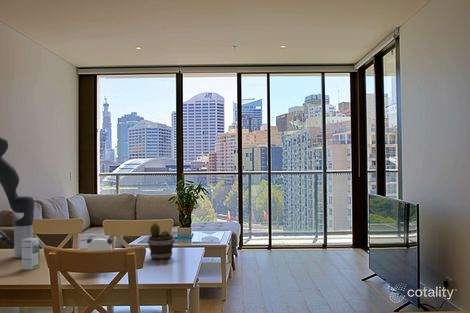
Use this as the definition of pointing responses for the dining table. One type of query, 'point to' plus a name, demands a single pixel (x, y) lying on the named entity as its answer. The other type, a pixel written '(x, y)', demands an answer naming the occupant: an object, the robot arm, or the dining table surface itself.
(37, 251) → the syrup box
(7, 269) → the dining table surface
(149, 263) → the dining table surface
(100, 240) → the panda figurine
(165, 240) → the flowerpot
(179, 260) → the dining table surface
